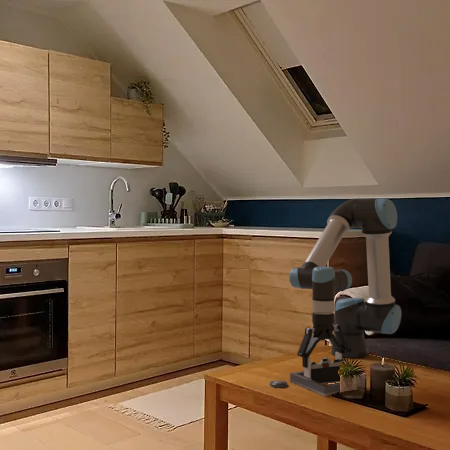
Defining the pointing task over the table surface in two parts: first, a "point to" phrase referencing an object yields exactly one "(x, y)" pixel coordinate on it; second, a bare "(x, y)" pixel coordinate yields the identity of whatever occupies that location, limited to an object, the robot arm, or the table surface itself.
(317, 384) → the case tray
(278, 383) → the lens cap
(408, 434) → the table surface
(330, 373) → the camera
